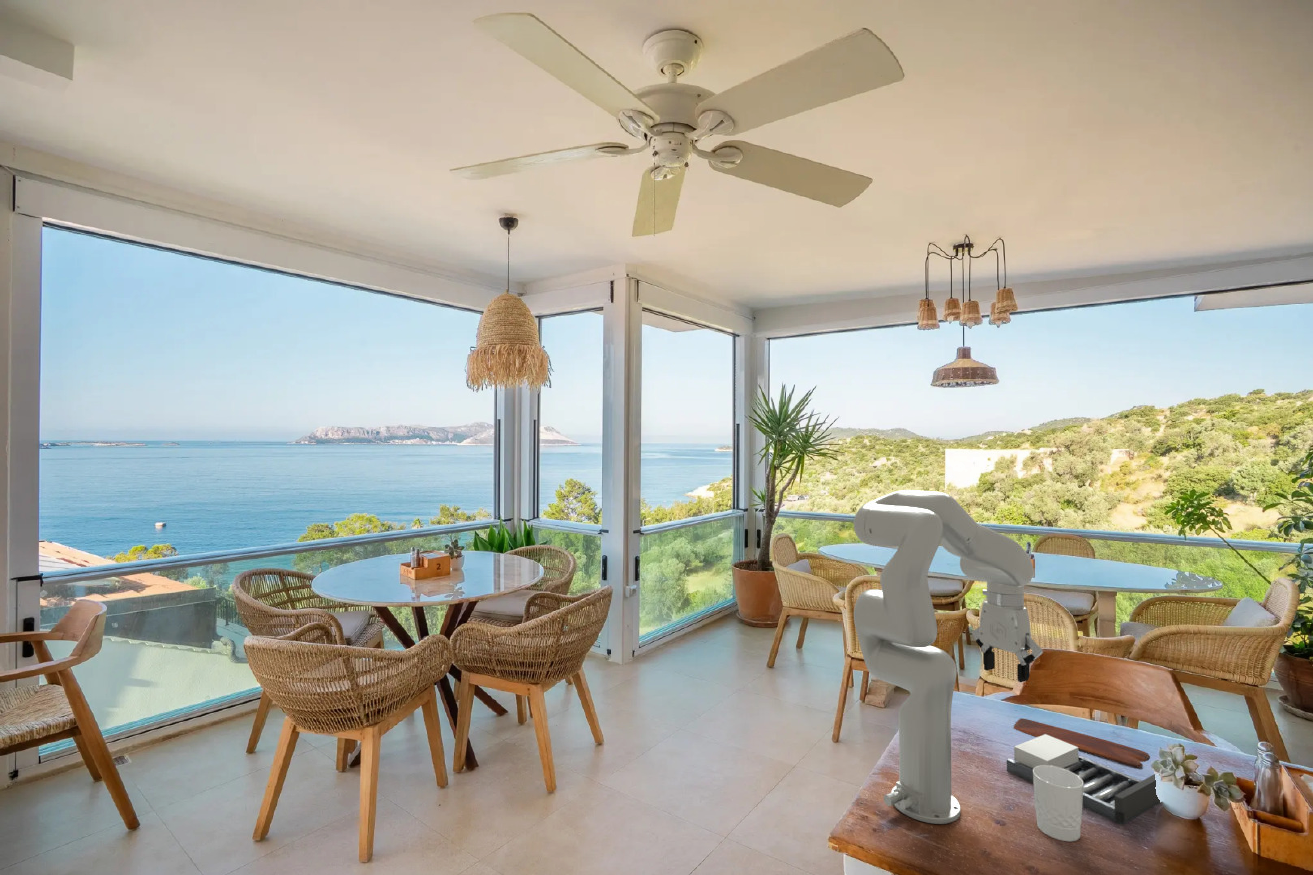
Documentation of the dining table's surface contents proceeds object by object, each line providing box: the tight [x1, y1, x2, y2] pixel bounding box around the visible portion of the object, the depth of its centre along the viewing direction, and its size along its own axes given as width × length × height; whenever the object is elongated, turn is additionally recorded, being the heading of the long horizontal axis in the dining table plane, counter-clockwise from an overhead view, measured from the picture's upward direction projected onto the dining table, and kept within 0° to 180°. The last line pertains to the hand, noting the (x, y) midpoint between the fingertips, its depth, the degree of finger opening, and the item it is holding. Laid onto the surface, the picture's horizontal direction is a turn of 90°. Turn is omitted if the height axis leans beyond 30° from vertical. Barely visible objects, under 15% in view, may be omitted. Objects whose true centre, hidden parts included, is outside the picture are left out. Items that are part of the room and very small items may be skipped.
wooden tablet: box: [1013, 718, 1150, 769], centre depth 147 cm, size 27×10×2 cm, turn 42°
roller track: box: [1006, 754, 1161, 826], centre depth 128 cm, size 16×22×5 cm
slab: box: [1013, 734, 1079, 768], centre depth 134 cm, size 12×7×3 cm, turn 119°
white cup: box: [1032, 765, 1084, 842], centre depth 113 cm, size 8×8×10 cm
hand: (1005, 674), depth 142 cm, fingers open, 7 cm apart
